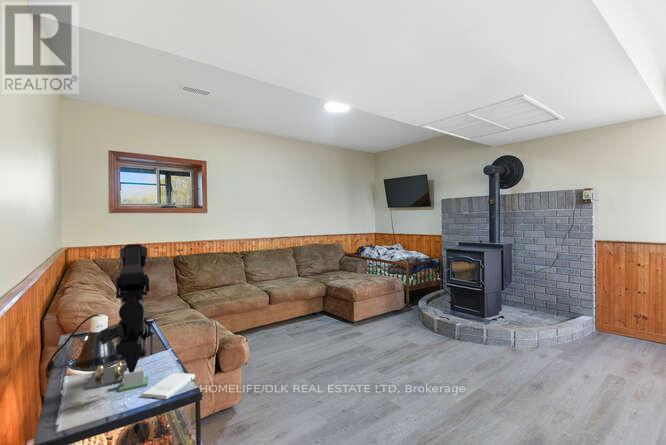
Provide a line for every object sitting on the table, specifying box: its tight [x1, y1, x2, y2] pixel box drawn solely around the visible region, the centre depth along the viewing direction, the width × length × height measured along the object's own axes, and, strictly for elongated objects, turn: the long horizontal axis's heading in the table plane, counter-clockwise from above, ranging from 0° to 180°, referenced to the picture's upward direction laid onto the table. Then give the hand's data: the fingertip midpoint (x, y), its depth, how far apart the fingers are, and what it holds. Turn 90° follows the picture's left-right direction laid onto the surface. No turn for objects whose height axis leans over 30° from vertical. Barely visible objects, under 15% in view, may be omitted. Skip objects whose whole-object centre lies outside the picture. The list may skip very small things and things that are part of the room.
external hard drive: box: [140, 372, 196, 400], centre depth 94 cm, size 2×8×12 cm
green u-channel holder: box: [118, 367, 149, 393], centre depth 95 cm, size 5×7×4 cm
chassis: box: [85, 361, 128, 391], centre depth 101 cm, size 13×9×3 cm
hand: (133, 365), depth 95 cm, fingers open, 9 cm apart
